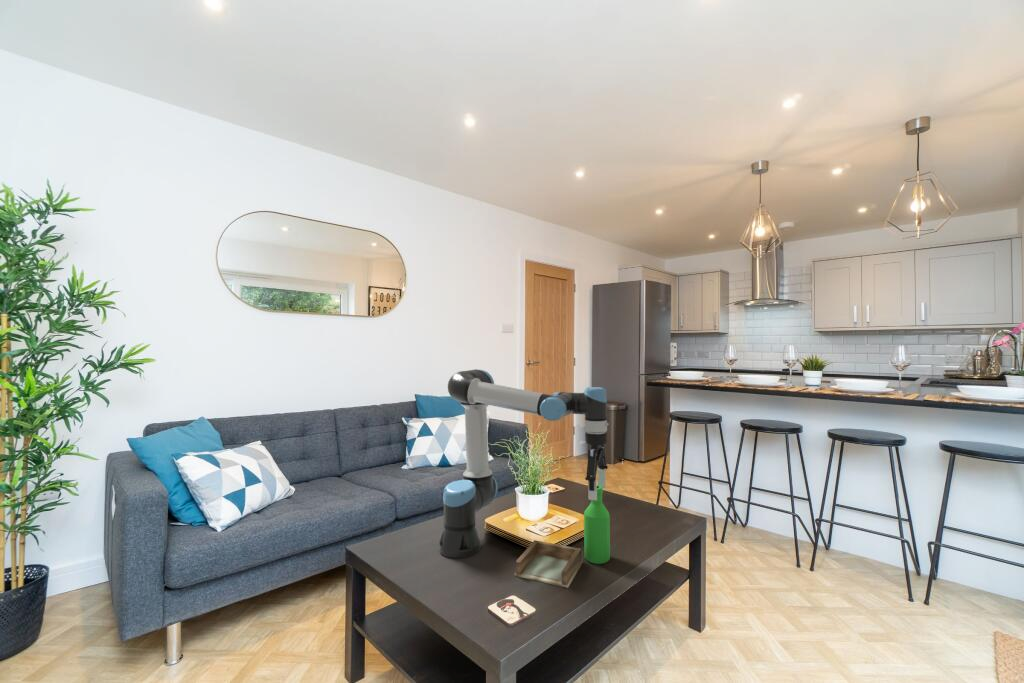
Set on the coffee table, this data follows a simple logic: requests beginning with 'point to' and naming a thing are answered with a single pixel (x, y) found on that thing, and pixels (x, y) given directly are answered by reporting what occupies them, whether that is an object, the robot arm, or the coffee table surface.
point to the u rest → (549, 563)
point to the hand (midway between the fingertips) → (597, 493)
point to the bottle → (597, 531)
